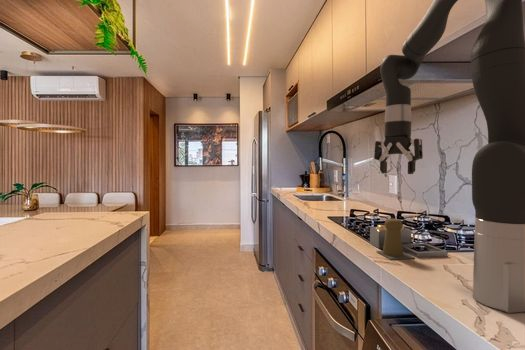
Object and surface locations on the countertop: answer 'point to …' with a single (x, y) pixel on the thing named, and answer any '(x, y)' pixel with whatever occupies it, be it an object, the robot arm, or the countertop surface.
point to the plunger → (381, 227)
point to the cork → (393, 238)
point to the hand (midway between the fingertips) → (396, 173)
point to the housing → (405, 244)
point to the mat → (405, 256)
